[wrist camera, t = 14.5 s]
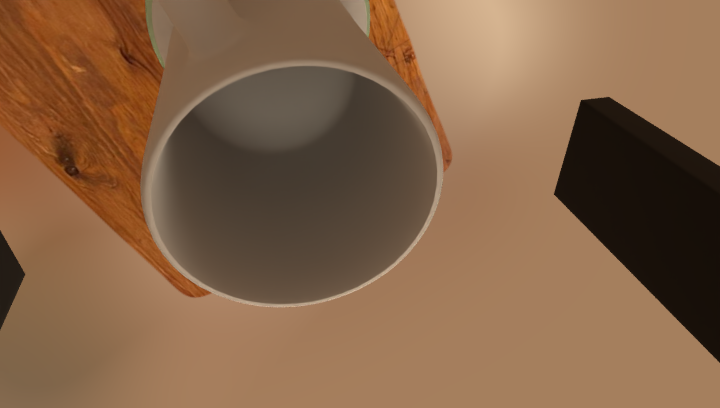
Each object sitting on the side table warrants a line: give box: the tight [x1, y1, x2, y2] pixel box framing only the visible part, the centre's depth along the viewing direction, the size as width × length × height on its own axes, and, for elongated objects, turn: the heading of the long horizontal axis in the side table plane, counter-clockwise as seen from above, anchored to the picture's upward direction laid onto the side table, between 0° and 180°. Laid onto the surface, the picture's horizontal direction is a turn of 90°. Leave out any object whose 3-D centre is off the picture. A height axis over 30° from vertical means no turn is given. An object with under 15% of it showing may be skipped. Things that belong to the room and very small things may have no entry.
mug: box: [140, 0, 443, 307], centre depth 17 cm, size 12×8×11 cm
